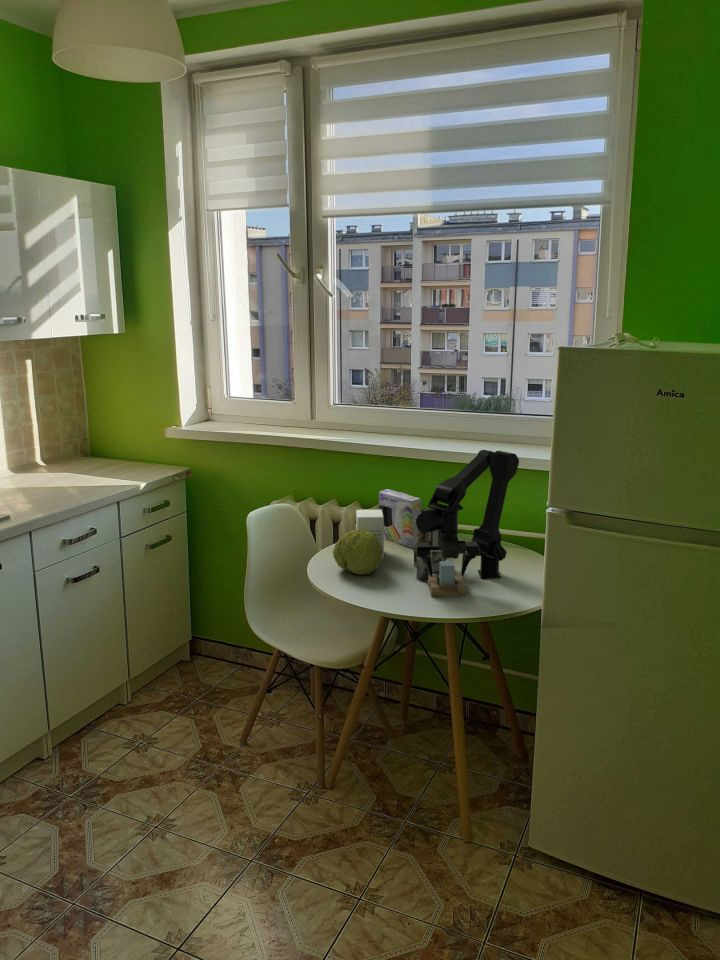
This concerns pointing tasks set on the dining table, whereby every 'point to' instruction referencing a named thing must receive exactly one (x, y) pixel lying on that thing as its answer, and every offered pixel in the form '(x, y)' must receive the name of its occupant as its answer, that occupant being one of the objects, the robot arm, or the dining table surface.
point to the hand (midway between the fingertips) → (446, 576)
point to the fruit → (358, 552)
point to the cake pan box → (399, 516)
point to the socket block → (446, 587)
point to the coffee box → (433, 541)
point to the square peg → (446, 573)
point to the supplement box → (372, 523)
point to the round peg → (422, 570)
